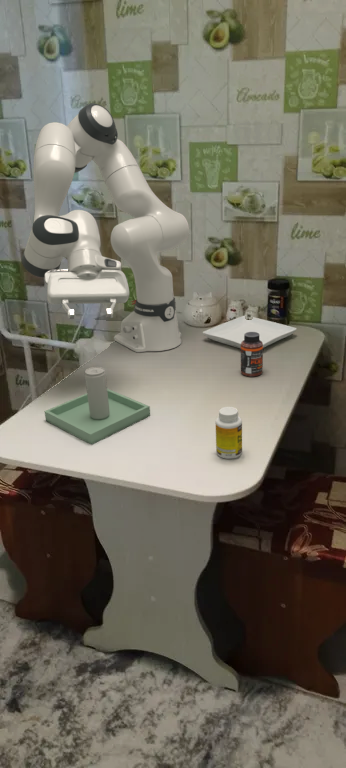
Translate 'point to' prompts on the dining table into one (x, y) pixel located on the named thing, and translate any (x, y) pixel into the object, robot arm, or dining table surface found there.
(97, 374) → the beverage can
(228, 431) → the supplement bottle
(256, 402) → the dining table surface
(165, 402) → the dining table surface
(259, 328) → the salad plate
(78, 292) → the robot arm
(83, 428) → the green tray
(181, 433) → the dining table surface
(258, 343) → the supplement bottle
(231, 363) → the dining table surface
